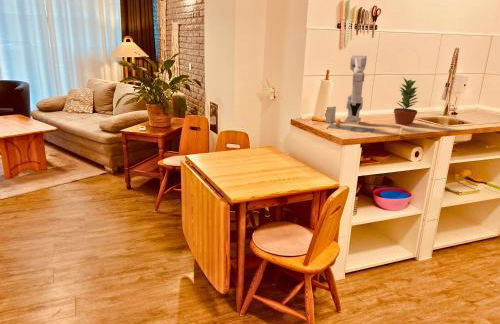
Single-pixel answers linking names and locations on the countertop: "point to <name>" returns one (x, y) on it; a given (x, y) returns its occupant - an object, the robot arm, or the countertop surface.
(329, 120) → the small box
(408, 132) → the countertop surface
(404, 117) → the potted plant
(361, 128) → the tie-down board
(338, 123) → the post
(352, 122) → the beige open rectangular frame
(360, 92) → the robot arm
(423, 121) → the countertop surface
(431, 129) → the countertop surface
